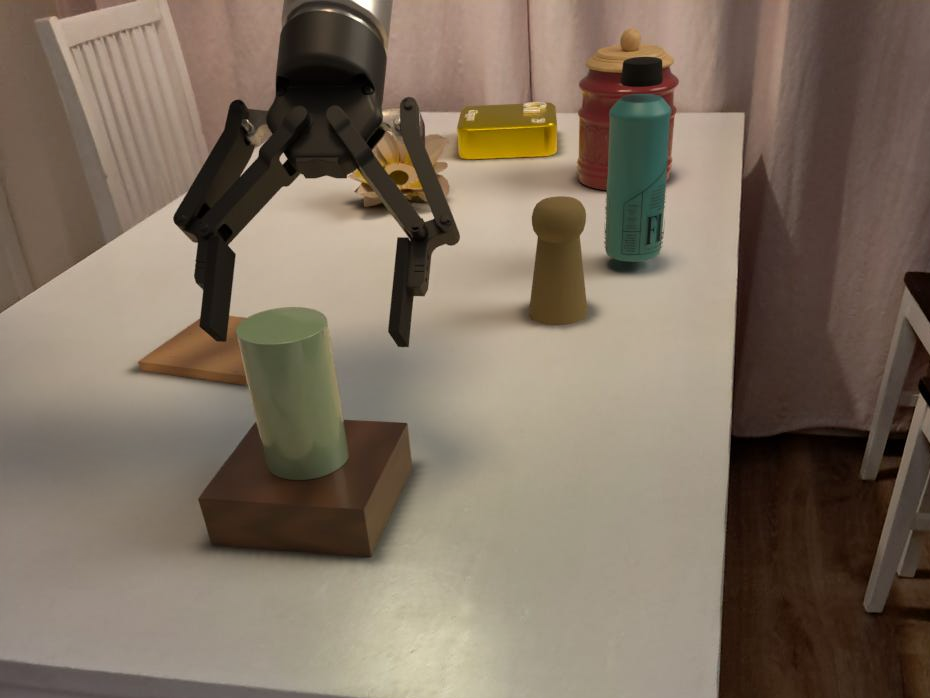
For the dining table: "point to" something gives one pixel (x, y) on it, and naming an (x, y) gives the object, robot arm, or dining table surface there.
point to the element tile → (507, 131)
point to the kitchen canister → (604, 93)
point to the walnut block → (310, 496)
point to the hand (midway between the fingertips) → (304, 337)
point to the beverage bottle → (637, 165)
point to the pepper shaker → (558, 262)
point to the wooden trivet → (199, 355)
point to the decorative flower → (403, 167)
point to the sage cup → (294, 391)
